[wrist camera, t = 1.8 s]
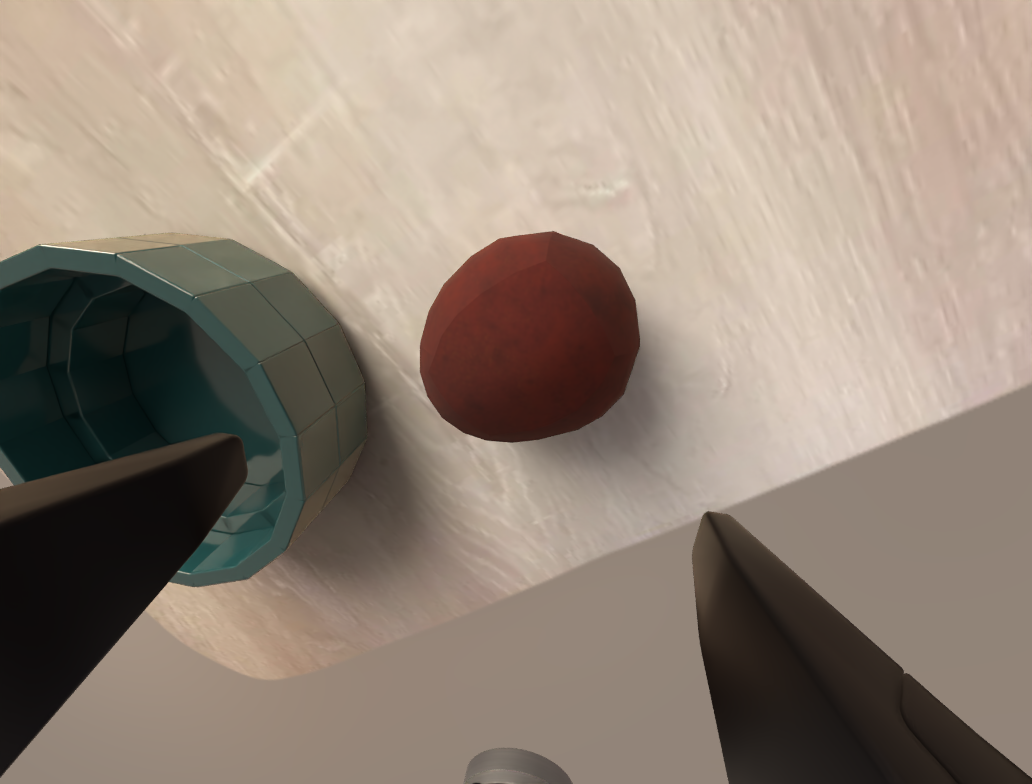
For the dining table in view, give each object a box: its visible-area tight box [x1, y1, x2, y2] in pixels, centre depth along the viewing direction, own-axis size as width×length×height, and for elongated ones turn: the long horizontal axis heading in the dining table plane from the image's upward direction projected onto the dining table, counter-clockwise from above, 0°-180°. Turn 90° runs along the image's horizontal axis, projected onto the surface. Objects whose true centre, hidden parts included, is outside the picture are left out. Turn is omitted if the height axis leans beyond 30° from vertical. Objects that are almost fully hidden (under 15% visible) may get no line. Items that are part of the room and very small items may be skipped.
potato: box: [420, 231, 640, 443], centre depth 17 cm, size 7×8×7 cm
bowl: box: [0, 233, 367, 587], centre depth 22 cm, size 15×15×6 cm
